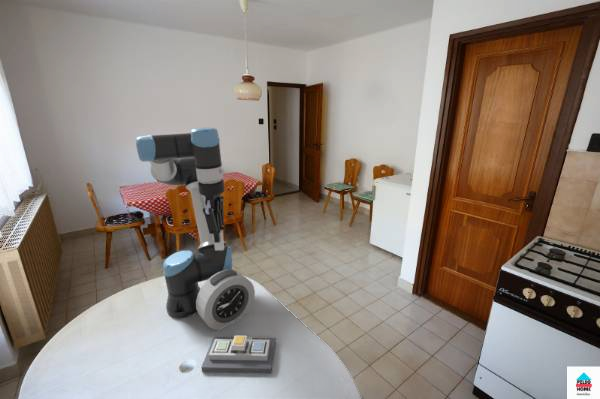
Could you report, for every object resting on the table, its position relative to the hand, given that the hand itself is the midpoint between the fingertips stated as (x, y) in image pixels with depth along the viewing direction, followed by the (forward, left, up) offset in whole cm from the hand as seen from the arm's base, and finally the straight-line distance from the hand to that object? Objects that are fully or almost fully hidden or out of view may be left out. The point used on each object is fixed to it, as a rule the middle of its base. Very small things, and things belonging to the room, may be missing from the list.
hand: (219, 249), depth 93 cm
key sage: (+7, -8, -32) cm, 34 cm away
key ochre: (+12, -4, -30) cm, 32 cm away
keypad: (+12, -4, -34) cm, 37 cm away
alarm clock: (-7, +4, -35) cm, 36 cm away
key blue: (+17, 0, -32) cm, 36 cm away
